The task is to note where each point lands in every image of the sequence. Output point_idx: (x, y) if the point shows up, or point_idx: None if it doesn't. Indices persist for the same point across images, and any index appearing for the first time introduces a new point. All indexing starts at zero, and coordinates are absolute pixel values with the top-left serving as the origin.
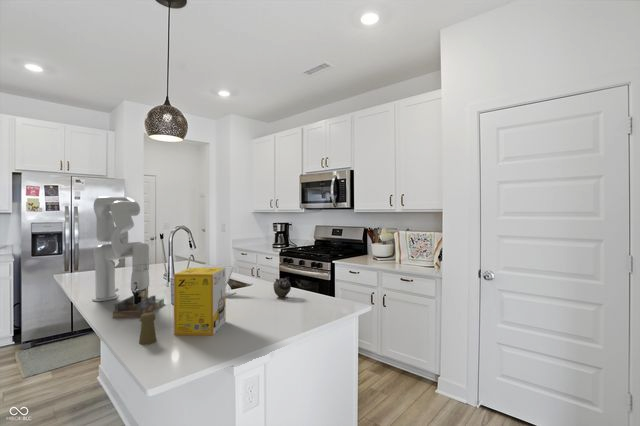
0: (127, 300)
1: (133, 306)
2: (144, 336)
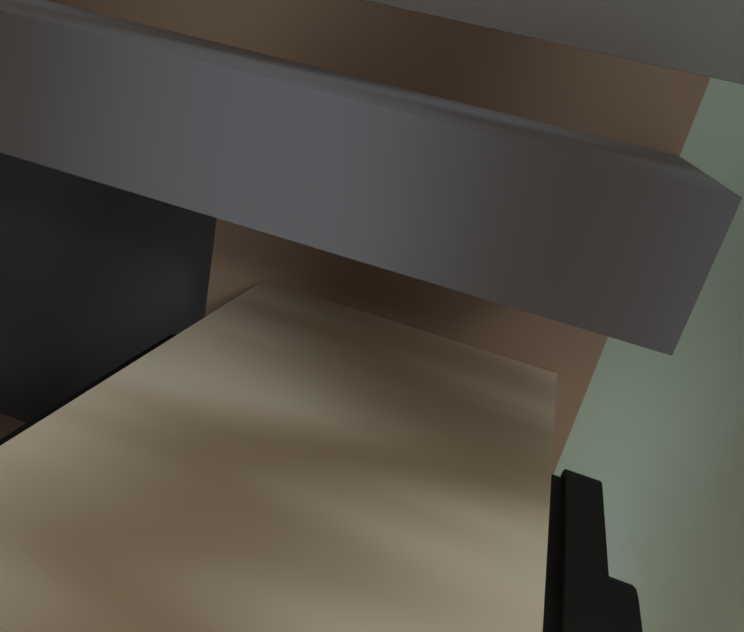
0: (52, 152)
1: (216, 289)
2: None
